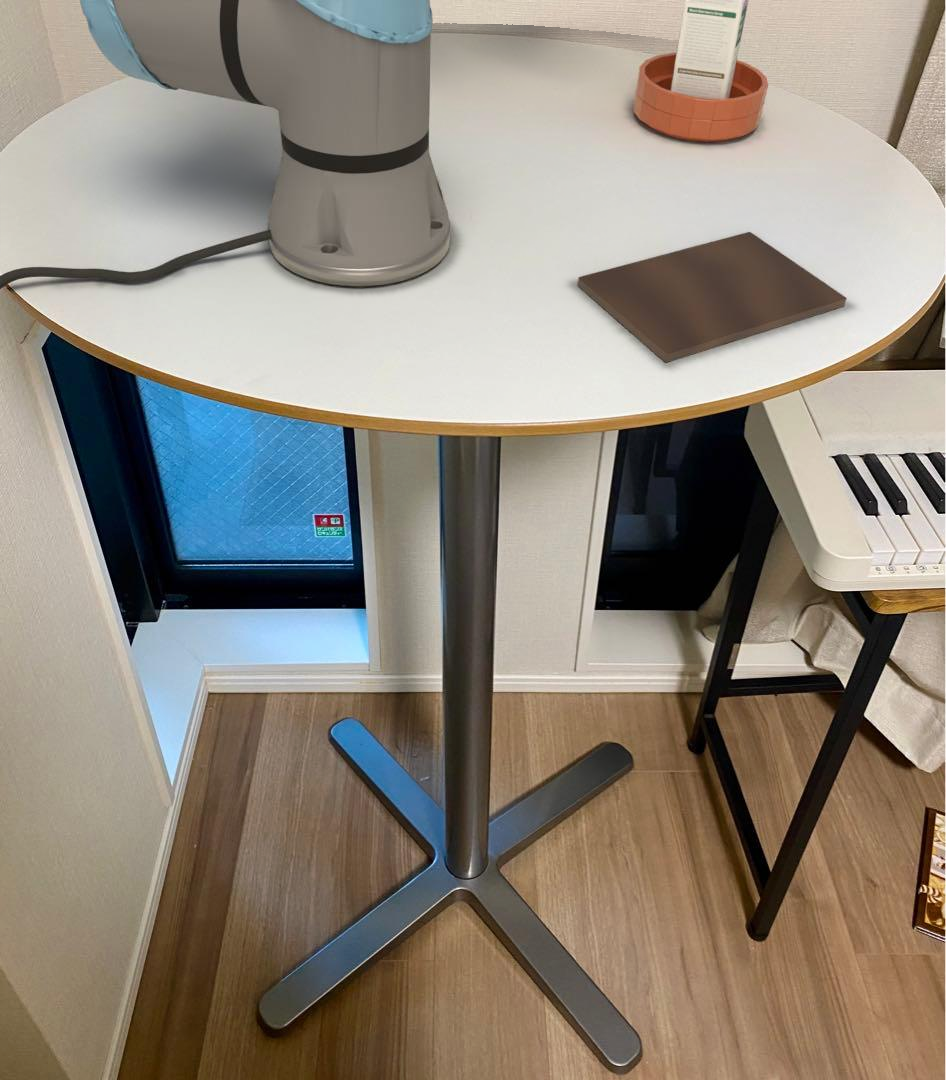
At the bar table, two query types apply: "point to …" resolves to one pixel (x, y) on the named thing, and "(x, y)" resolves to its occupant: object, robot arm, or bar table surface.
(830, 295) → the mat
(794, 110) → the bar table surface
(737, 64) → the bowl
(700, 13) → the syrup box
